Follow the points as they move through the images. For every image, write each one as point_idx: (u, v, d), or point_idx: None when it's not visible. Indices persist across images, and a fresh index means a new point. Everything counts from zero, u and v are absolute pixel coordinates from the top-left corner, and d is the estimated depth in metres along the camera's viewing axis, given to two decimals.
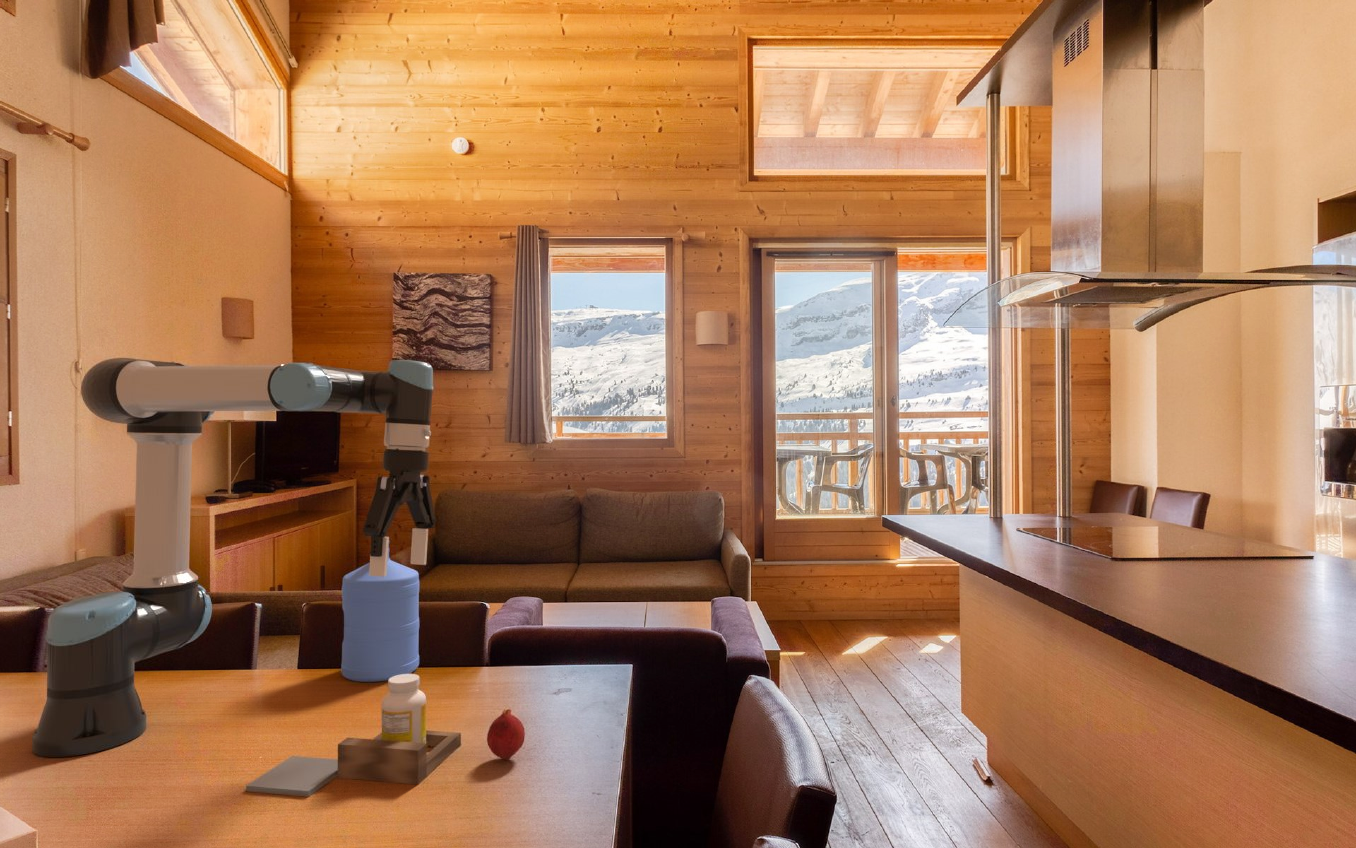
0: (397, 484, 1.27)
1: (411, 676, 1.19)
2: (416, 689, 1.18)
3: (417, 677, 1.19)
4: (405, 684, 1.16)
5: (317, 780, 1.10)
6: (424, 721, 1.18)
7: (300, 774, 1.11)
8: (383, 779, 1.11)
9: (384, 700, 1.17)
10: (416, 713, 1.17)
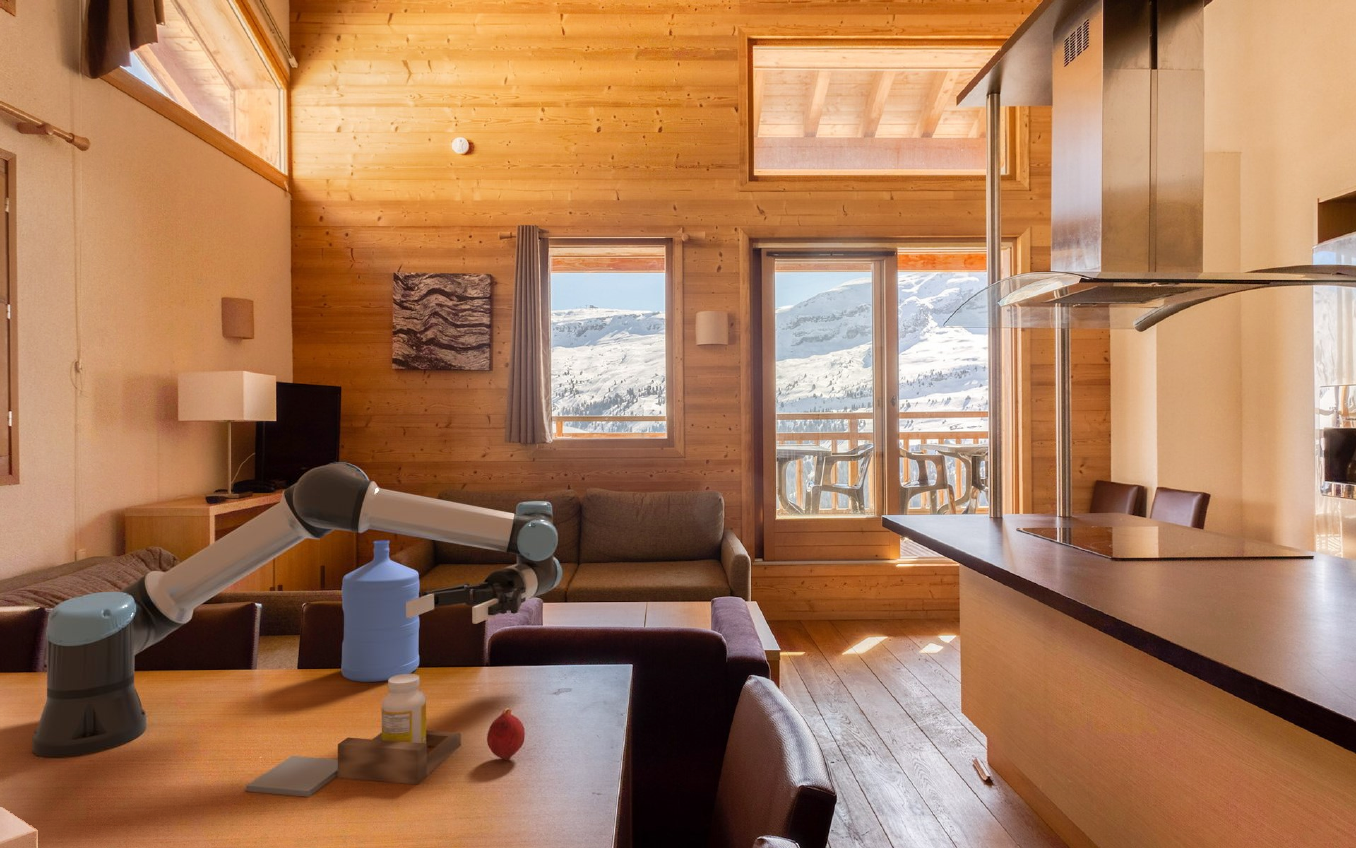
0: (509, 599, 1.40)
1: (411, 676, 1.19)
2: (416, 689, 1.18)
3: (417, 677, 1.19)
4: (405, 684, 1.16)
5: (317, 780, 1.10)
6: (424, 721, 1.18)
7: (300, 774, 1.11)
8: (383, 779, 1.11)
9: (384, 700, 1.17)
10: (416, 713, 1.17)
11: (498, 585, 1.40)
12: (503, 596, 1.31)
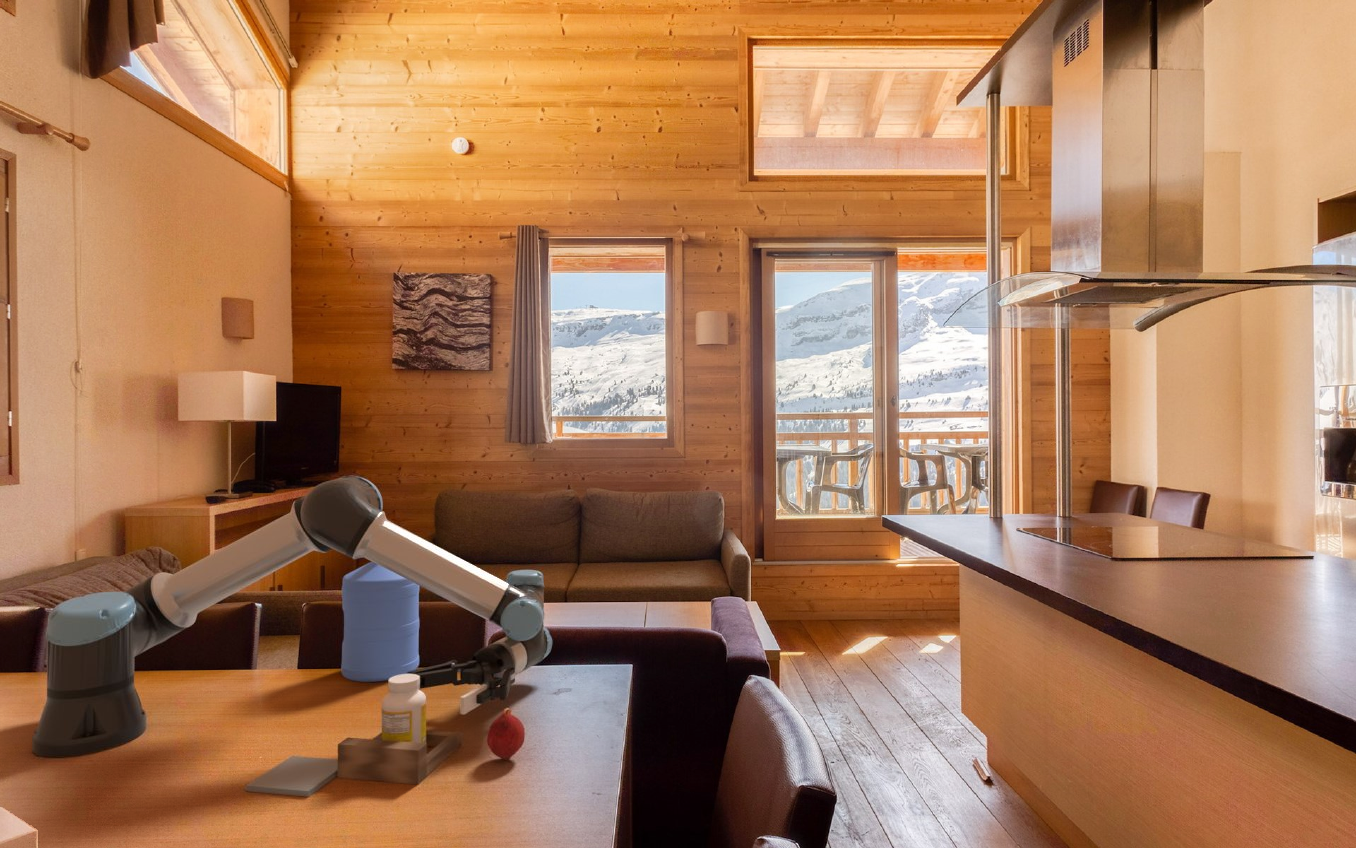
0: (498, 679, 1.36)
1: (411, 676, 1.19)
2: (416, 689, 1.18)
3: (417, 677, 1.19)
4: (405, 684, 1.16)
5: (317, 780, 1.10)
6: (424, 721, 1.18)
7: (300, 774, 1.11)
8: (383, 779, 1.11)
9: (384, 700, 1.17)
10: (416, 713, 1.17)
11: (487, 665, 1.35)
12: (492, 682, 1.27)
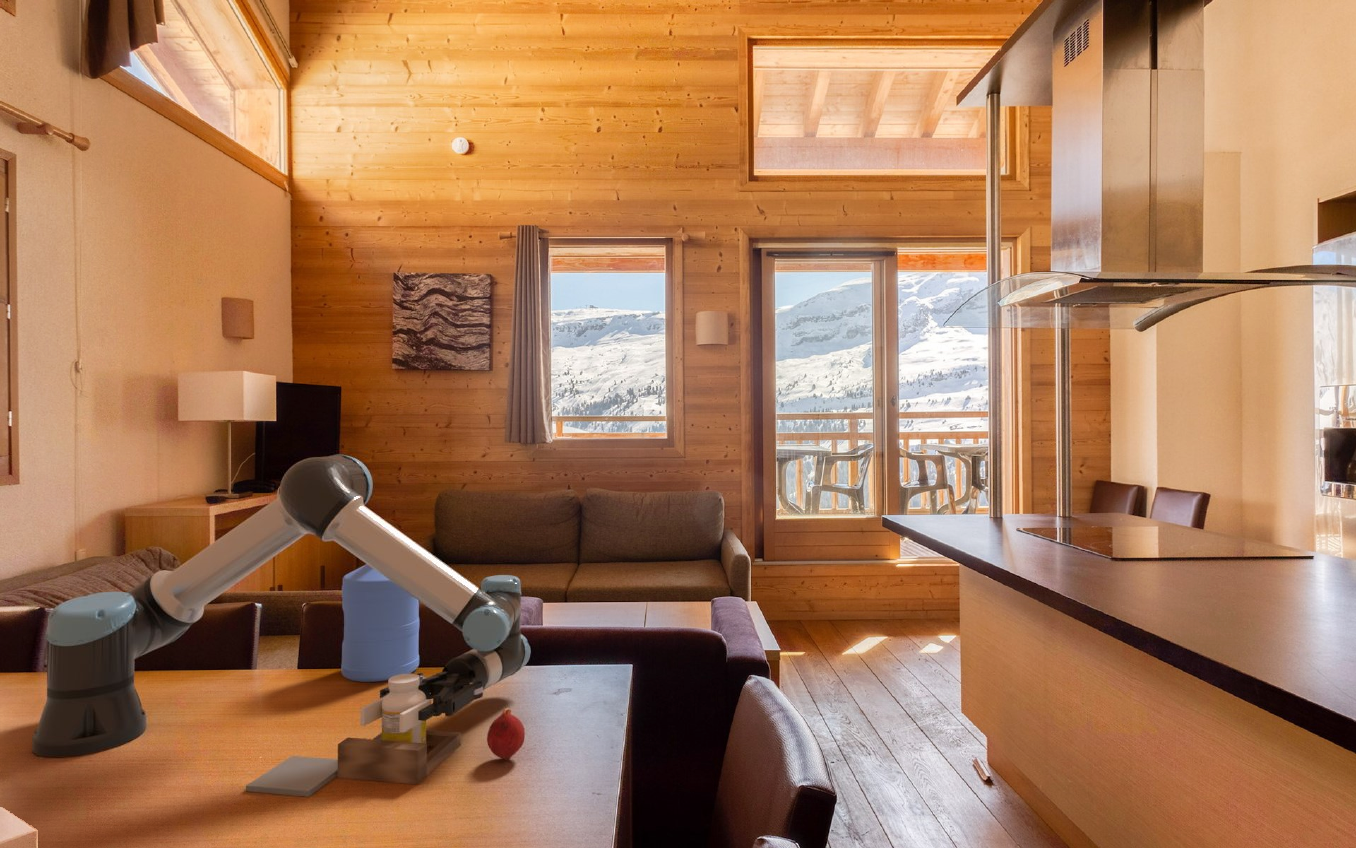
0: None
1: (411, 676, 1.19)
2: (416, 689, 1.18)
3: (417, 677, 1.19)
4: (405, 684, 1.16)
5: (317, 780, 1.10)
6: None
7: (300, 774, 1.11)
8: (383, 779, 1.11)
9: (384, 700, 1.17)
10: None
11: (455, 677, 1.28)
12: (435, 697, 1.19)
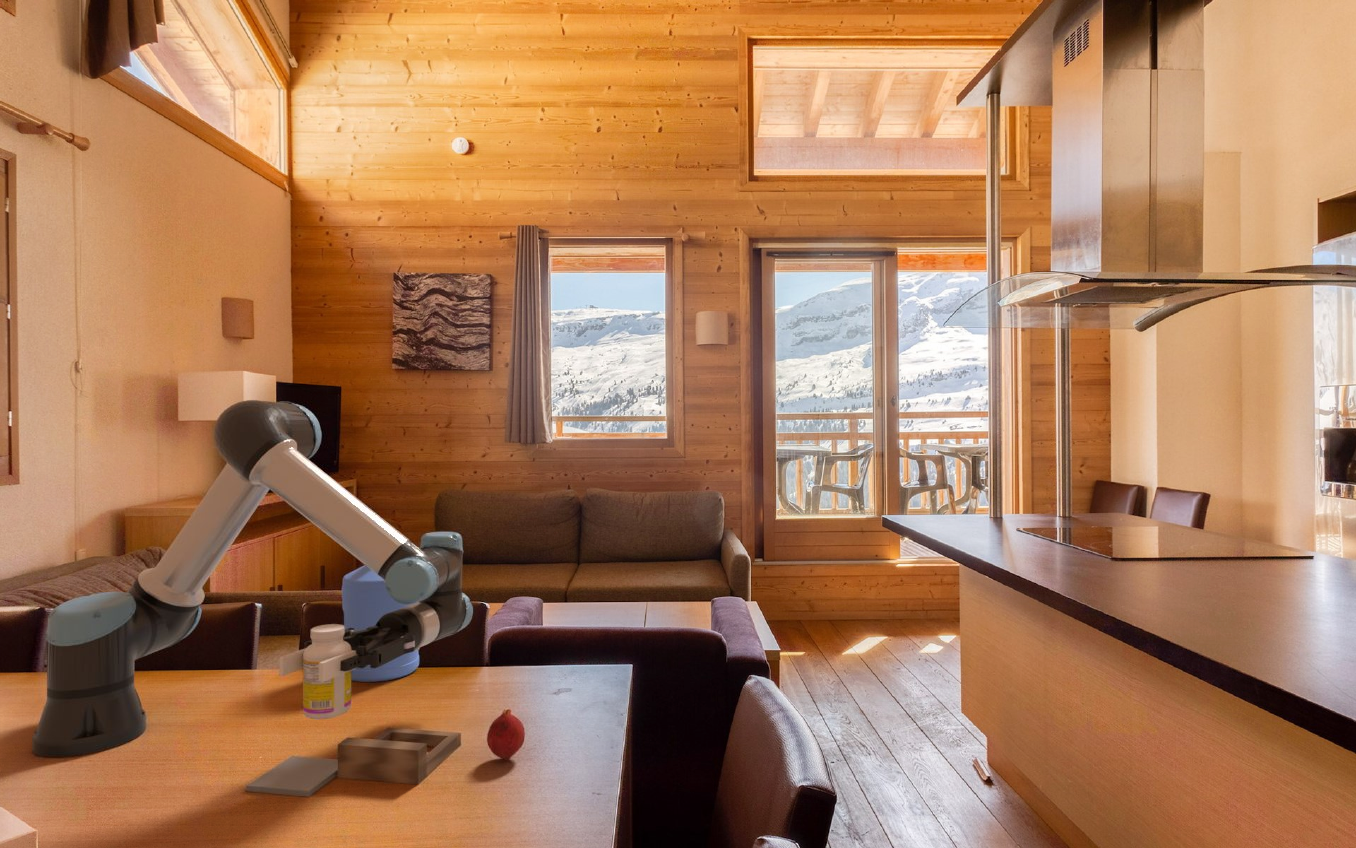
0: None
1: (336, 626, 1.14)
2: (340, 639, 1.13)
3: (342, 627, 1.14)
4: (328, 634, 1.11)
5: (317, 780, 1.10)
6: (348, 672, 1.13)
7: (300, 774, 1.11)
8: (383, 779, 1.11)
9: (306, 650, 1.12)
10: None
11: (386, 631, 1.23)
12: (360, 648, 1.14)
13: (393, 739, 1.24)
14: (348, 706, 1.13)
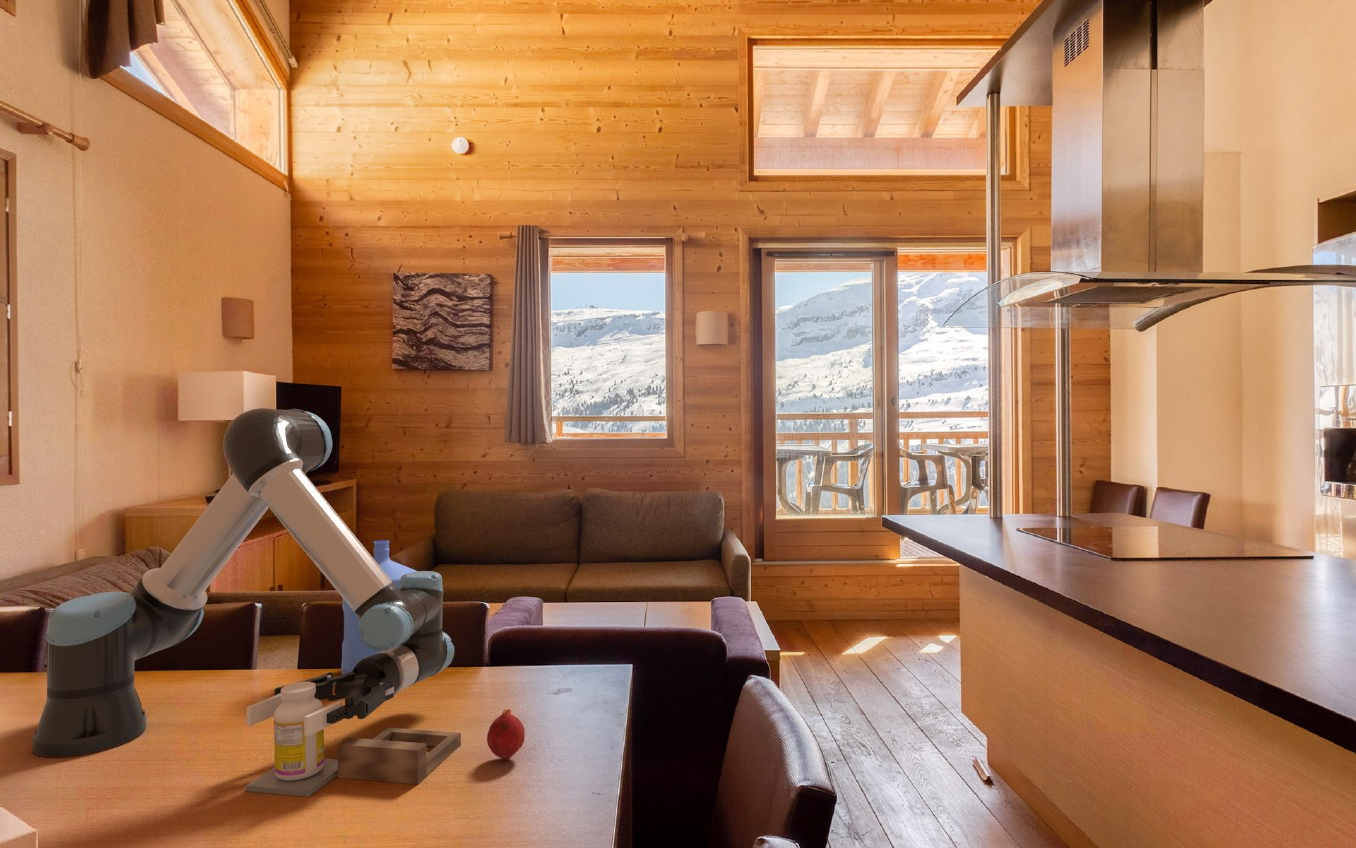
0: None
1: (307, 684, 1.13)
2: (311, 698, 1.12)
3: (313, 685, 1.12)
4: (298, 694, 1.10)
5: (317, 780, 1.10)
6: (320, 731, 1.12)
7: None
8: (383, 779, 1.11)
9: (276, 710, 1.10)
10: None
11: (363, 678, 1.22)
12: (348, 699, 1.12)
13: (393, 739, 1.24)
14: (321, 765, 1.12)
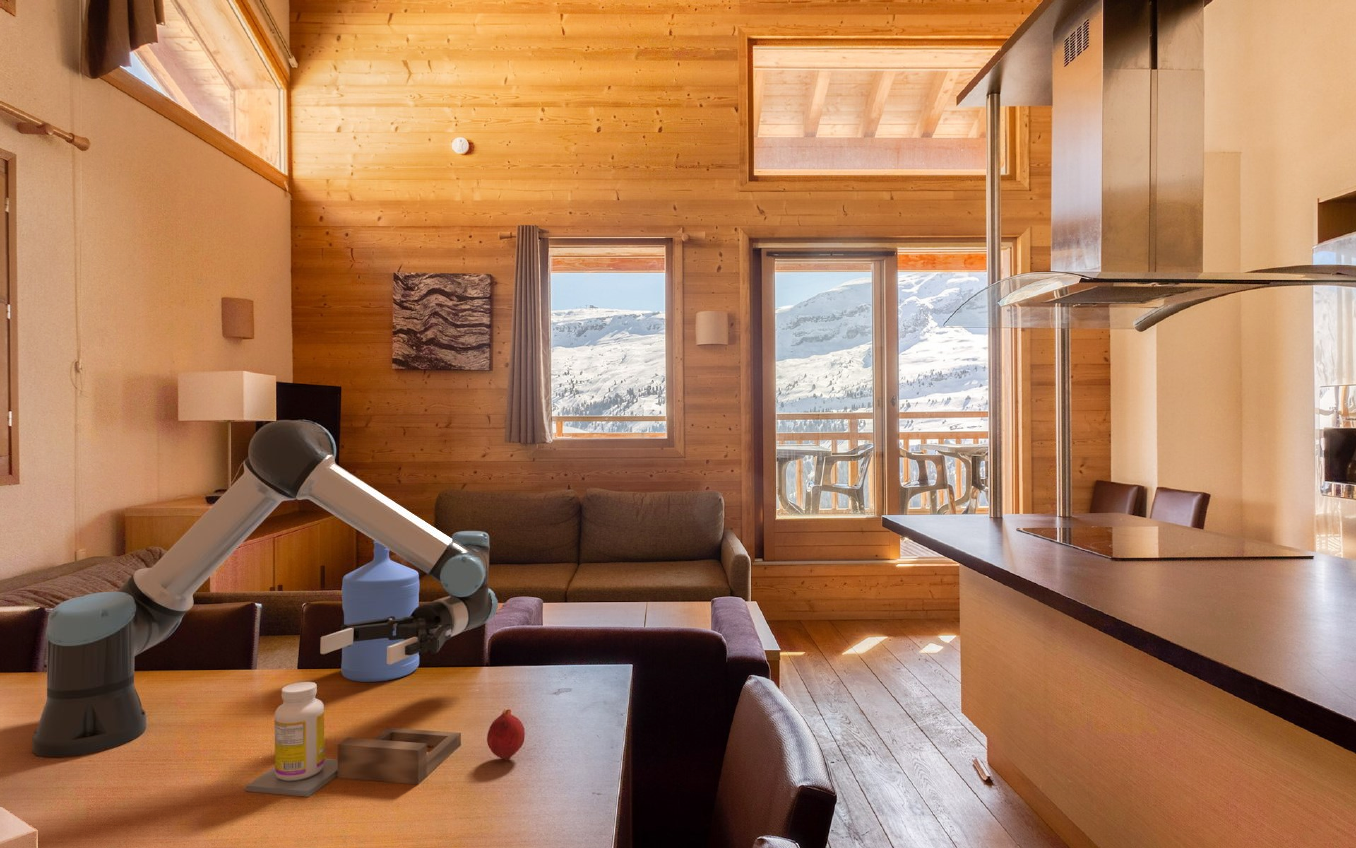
0: None
1: (308, 684, 1.13)
2: (312, 698, 1.12)
3: (314, 685, 1.12)
4: (299, 694, 1.10)
5: (317, 780, 1.10)
6: (321, 731, 1.12)
7: None
8: (383, 779, 1.11)
9: (277, 710, 1.10)
10: (311, 724, 1.10)
11: (423, 620, 1.35)
12: (423, 635, 1.26)
13: (393, 739, 1.24)
14: (321, 766, 1.12)
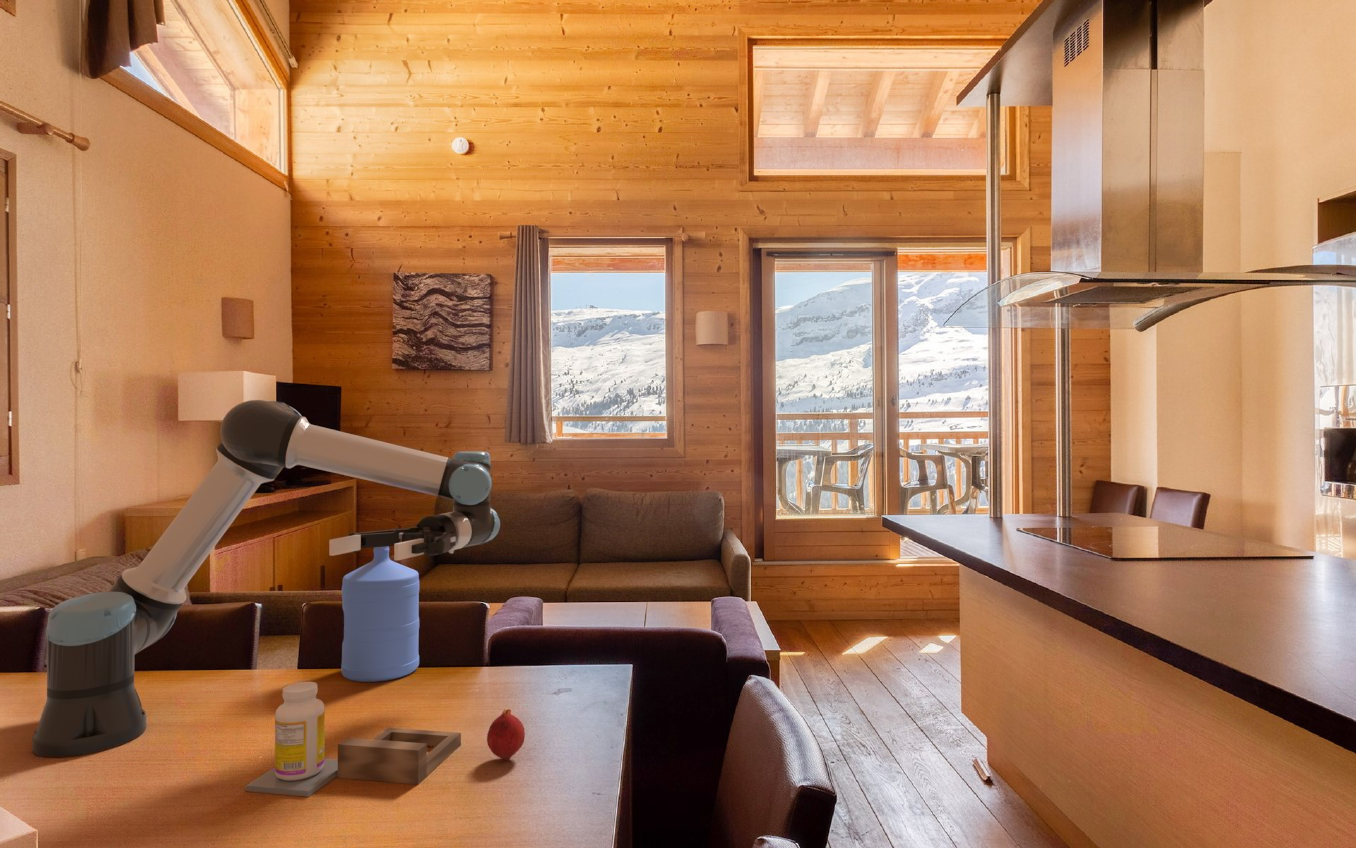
0: None
1: (309, 684, 1.13)
2: (313, 698, 1.12)
3: (314, 685, 1.13)
4: (300, 693, 1.10)
5: (317, 780, 1.10)
6: (321, 731, 1.12)
7: None
8: (383, 779, 1.11)
9: (277, 710, 1.10)
10: (311, 724, 1.10)
11: (428, 529, 1.38)
12: (429, 536, 1.29)
13: (393, 739, 1.24)
14: (321, 766, 1.12)
